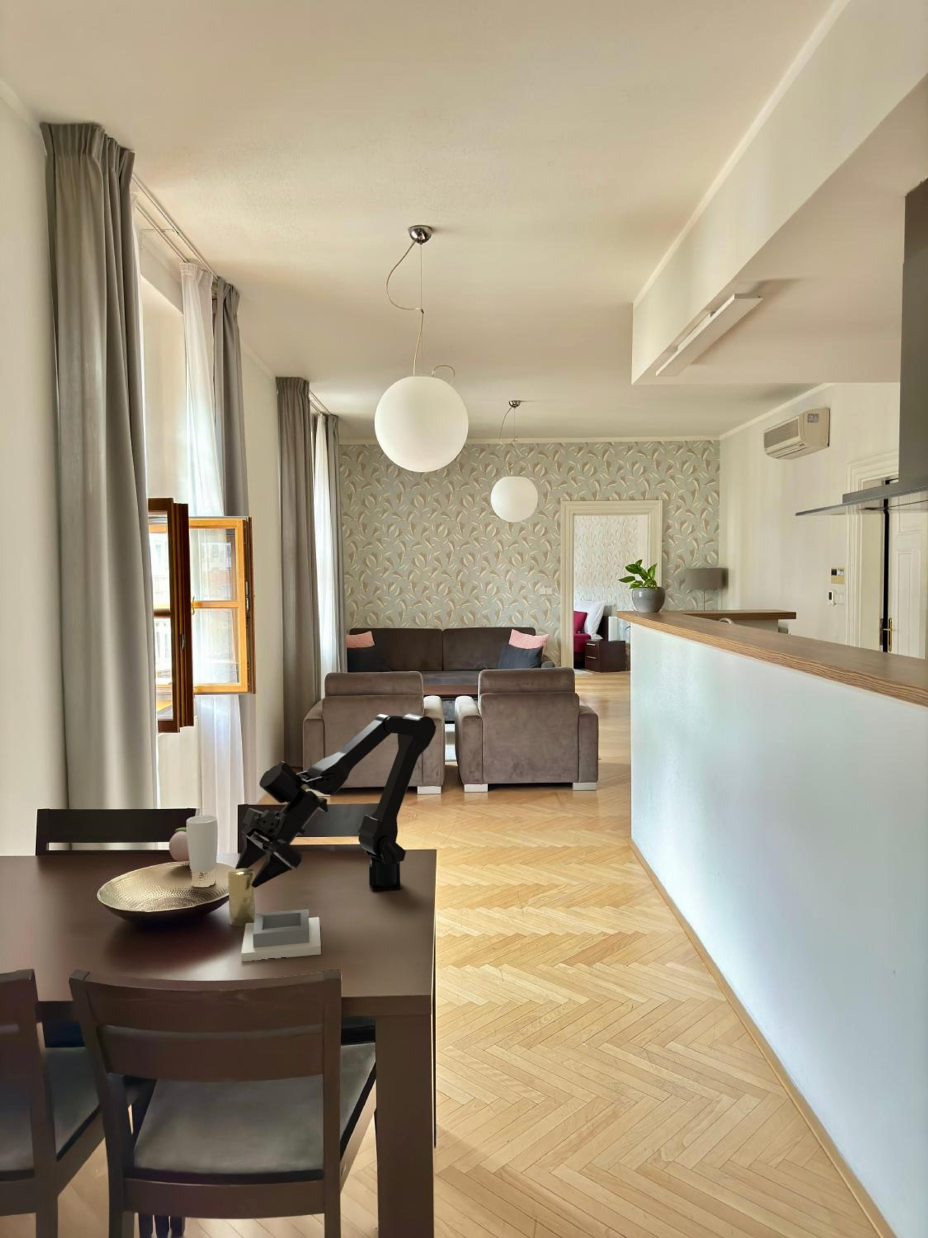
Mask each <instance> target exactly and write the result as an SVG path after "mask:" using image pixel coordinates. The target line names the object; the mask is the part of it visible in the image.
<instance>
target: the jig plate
mask: <svg viewBox="0 0 928 1238" xmlns="http://www.w3.org/2000/svg"><path fill="white" fill-rule="evenodd" d="M309 913H310V911H309V908H308V909H307V908H306V909H296V910H284V911H281V910H280V911H269V912H262V913H261V912H260V913H259V912H258V913H255V922H254V923H246V926H244V927H245V928H244V933H243V939H242V945H241V953H240V955H241V956H240V957H241V959H240V961H241V962H251V961H252V960H254V961H261V959H265V960H269V959H268V958H275V959H282V958H281V957H286V958H296V957H307V956H315V955H318V956H319V955H321V954H322V953H321V952H322V948H321V947H322V946H321V945H322V944H321V929H320V926H321V925H320V917H319V916H316V917H309ZM252 962H253V961H252Z"/></svg>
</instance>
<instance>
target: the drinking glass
mask: <svg viewBox="0 0 928 1238" xmlns="http://www.w3.org/2000/svg"><path fill="white" fill-rule="evenodd" d="M185 824H186V827H185V828H186V834H187V846H188V854H189V863H190V866H189V869H191V870H193V871H195V872H204V871H211V870H213V869H214V868H215V866H216V867H217V857H218V845H219V842H218V841H219V827H218V826H219V823H218V817H217V816H215V815H211V814H204V815H203V814H202V815H195V816H191V817H189V818H187V819H186V823H185Z"/></svg>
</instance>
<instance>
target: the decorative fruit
mask: <svg viewBox="0 0 928 1238" xmlns="http://www.w3.org/2000/svg"><path fill="white" fill-rule="evenodd" d="M174 832H175V833H174V834H173V835H172V836H171V838H170V840H169V842H168V850H169V854H170V855H171V857H172V858H173V860H175V861H176V860H177V861H176V862H178V861H189V854H188V846H187V834H186V827H179V828H175V831H174Z"/></svg>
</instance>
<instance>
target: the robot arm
mask: <svg viewBox="0 0 928 1238" xmlns="http://www.w3.org/2000/svg"><path fill="white" fill-rule="evenodd" d="M436 731H437V725H436V722H435V721H434V719H433V718H432V717H431V716H426V715H422V714H418V713H414V712H413V713H412V712H411V713H407V714H405V715H404V716H400V715H391V714H386V713H380V714H378V715H376V716H375V718H374V720H372V722H369V724H368V725H367V726H366V727H365V728H364V729H362V730H361V731H360V732H359V733H358V734H356V736H354V737H353V738H352V739H351V740H350V741H349V742H348V743H346V745H344V746H343V747H342V748H341V749H340V750H339V751H337V752H336V753H334V754H332V755H329V756H326V757H324V758H322V759H321V760H319V761H318V762H316V763H314V764H313V765H311V766H309V768H308V769H307V770H305V771H301V772H297V773H296V772H295V771H294V769H292V767H291V766H290V765H289V764H288V763H287V762H285V761H283V760H282V761H279V763H278V764H276V765H274V766H272V767H271V768H270V769H268V770H266V771H265V772H264V773H263V775H262V776H261V778H260V780H259V787H260V788H261V789H262V790H263V791H264V792H265V793H266V794H268V795H269V796H270V797H272V798H273V799H274V801H276V802H277V803H279V804H285V803H286V804H285V805H284V807H283V808H282V809H281V811H279V810H274V811H269V810H267V809H266V810H264V811H261V810H257V809H254V808H252V807H251V808H250V807H248V809H247V812H246V814H245V816H244V819H243V820H242V824H245V826H244V827H243V828H242V830H241V833H242V834H241V835H242V836H241V837H242V839H243V840H242V841H243V849H242V851H241V854H240V856H239V859H238V861H237V864H236V865H235V868H234V870H235V869H240V868H249V869H250V867H251V866H253V865H254V864H255V863H257V862H258V861H259V860H260V859H262V858H263V857H264V856H266V859H265V861H264V863H263V864H262V866H261V867H260V869H259V871H257V874H256V875H255V876H254V880H253V882H252V884H251V885H252V886H253V887H254V888H255V889H256V888H258V887H260V886H261V885H264V884H265V883H267V882H269V881H271V880H272V879H275V878H276V877H278V876H280V875H282V874H285V873H287V872H288V871H290V872H291V871H293V868H294V869H295V870H297V869H298V868H299V867H300V866H301V864H303V862H304V861H303V860H304V859H303V857H304V855H303V854H302V853H301V852H299V851H298V850H297V849H296V848H295V847H293V846H292V842H293V841H294V840H295V839H296V838H297V836H298V835H301V836H303V835H304V834H305V833H306V830H305V829H304V827H305V826H306V825H307V823H308V822H309V821H310V819H311V818H312V817H313V815H314V814H315V813H316V812H317V811H318V810H320V811H322V812H324V813H326V814H327V813H328V812H329V807H328V799H327V798H325V797H322V796H321V797H319V796H318V795H317V794H316V793H314V791H315V792H318V793H320V794H322V795H325V796H333V795H335V794H336V793H337V792H338V791H339V790H340V789H341V788H342V787H343V786H344V784H345V783H346V781H347V780H348V779H349V776H350V775H351V774H350V773H351V771H352V770H353V769H354V768H355V766H357V765H358V764H359V763H360V762H361V761H362V760H363V759H365V758H366V757H367V756H368V755H369V754H370V753H371V752H372V751H373V750H374V749H376V747H378V746H379V745H380V744H381V743H382V742H383V741H384V740H386V738H388V737H389V736H390V735H391V734H397V748H398V749H397V752H396V755H395V758H394V761H393V764H392V766H391V769H390V770H389V774H388V778H387V780H386V783H385V785H384V788H383V791H382V794H381V795H380V799H379V801H378V805H377V808H376V810H375V811H374V812H372V814H371V815H370V816H369V815H367V814H365V815H364V816H363V817H362V822H361V825H360V827H359V829H357V833H358V834H359V835H358V838H357V839H358V842H359V845H360V847H361V848H362V849H363V850H364V852H365V854H366V856H368V857H370V863H368V865H367V872H368V873H367V875H368V876H367V878H368V879H367V880H368V881H367V882H368V886H369V887H371V891H372V892H376V891H377V892H378V891H379V892H380V891H390V890H393V891H394V890H401V889H402V888H403V887H402V883H401V862H403V861H404V860H405V857H406V854H407V851H406V849H404V848H403V847H402V846H401V845H399V844H398V842H397V839H398V833H399V828H398V827H399V826H398V815H399V812H400V810H401V807H402V804H403V802H404V799H405V795H406V793H407V790H408V788H409V785H410V782H411V779H412V776H413V773H414V770H415V768H416V766H417V765H416V764H417V762H418V760H419V757H420V756H421V755H422V754H423V752H424V751H426V749H427V748H429V746H430V744H431V742H432V740H433V738H434V737H435V735H436V733H437V732H436ZM302 786H303V787H305V788H307V789H310V790H307V791H306V790H305V789H304V788H303V787H302Z"/></svg>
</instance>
